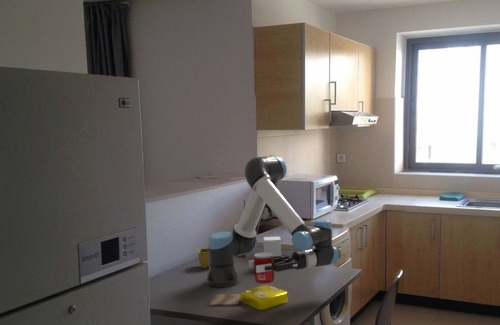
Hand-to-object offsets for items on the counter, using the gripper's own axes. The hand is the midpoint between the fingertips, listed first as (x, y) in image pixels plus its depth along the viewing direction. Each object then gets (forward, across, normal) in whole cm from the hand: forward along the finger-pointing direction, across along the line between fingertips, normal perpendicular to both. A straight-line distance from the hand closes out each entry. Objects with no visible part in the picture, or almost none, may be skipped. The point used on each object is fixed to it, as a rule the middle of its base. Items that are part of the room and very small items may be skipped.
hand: (252, 266), depth 195 cm
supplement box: (-29, +50, -16) cm, 61 cm away
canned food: (-5, 0, -7) cm, 8 cm away
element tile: (-6, +3, -17) cm, 18 cm away
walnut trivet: (+9, +11, -16) cm, 21 cm away
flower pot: (+2, +66, -16) cm, 68 cm away
